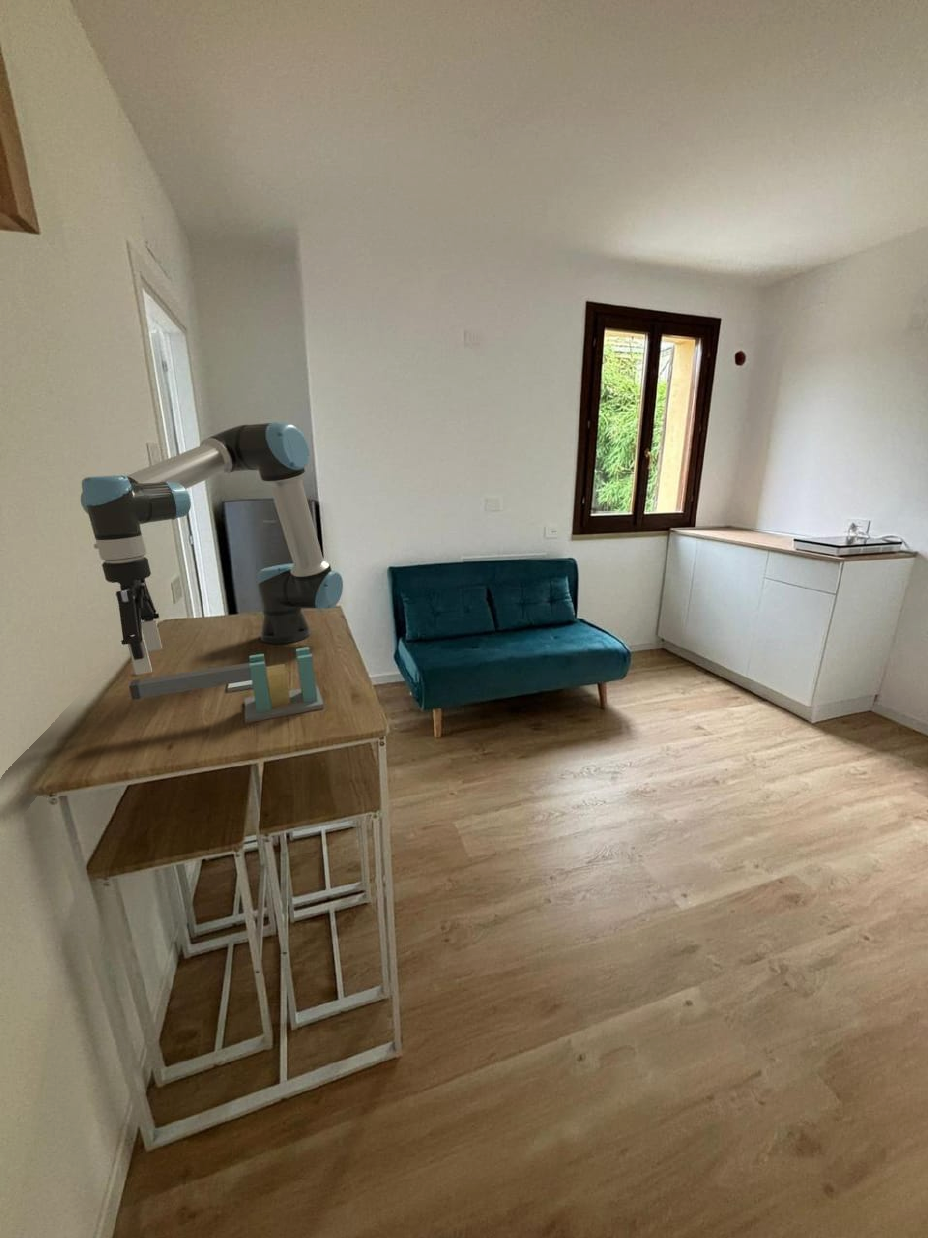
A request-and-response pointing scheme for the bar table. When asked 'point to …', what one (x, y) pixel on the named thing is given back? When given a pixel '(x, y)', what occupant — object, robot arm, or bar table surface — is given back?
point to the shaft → (189, 681)
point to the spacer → (278, 686)
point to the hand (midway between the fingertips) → (149, 660)
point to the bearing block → (299, 698)
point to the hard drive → (240, 686)
